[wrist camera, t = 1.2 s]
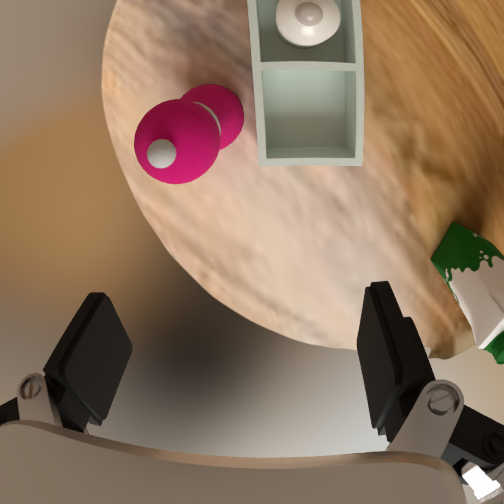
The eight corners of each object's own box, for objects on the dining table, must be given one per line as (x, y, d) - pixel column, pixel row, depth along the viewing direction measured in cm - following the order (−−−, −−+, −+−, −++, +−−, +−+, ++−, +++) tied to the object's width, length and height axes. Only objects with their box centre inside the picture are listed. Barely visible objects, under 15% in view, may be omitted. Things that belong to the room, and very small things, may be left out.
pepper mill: (259, 106, 33) (245, 142, 16) (223, 153, 36) (177, 235, 19) (208, 71, 31) (138, 73, 14) (174, 120, 34) (86, 174, 17)
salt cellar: (273, 4, 25) (273, -17, 18) (325, 4, 25) (341, -15, 18) (277, 49, 28) (278, 41, 21) (328, 49, 28) (345, 42, 21)
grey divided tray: (249, -12, 25) (244, -27, 20) (344, -11, 24) (357, -24, 19) (261, 152, 36) (258, 166, 31) (349, 151, 35) (362, 165, 30)
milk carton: (423, 262, 43) (478, 364, 26) (452, 212, 38) (529, 304, 21) (459, 276, 43) (513, 368, 27) (487, 231, 39) (557, 316, 22)
